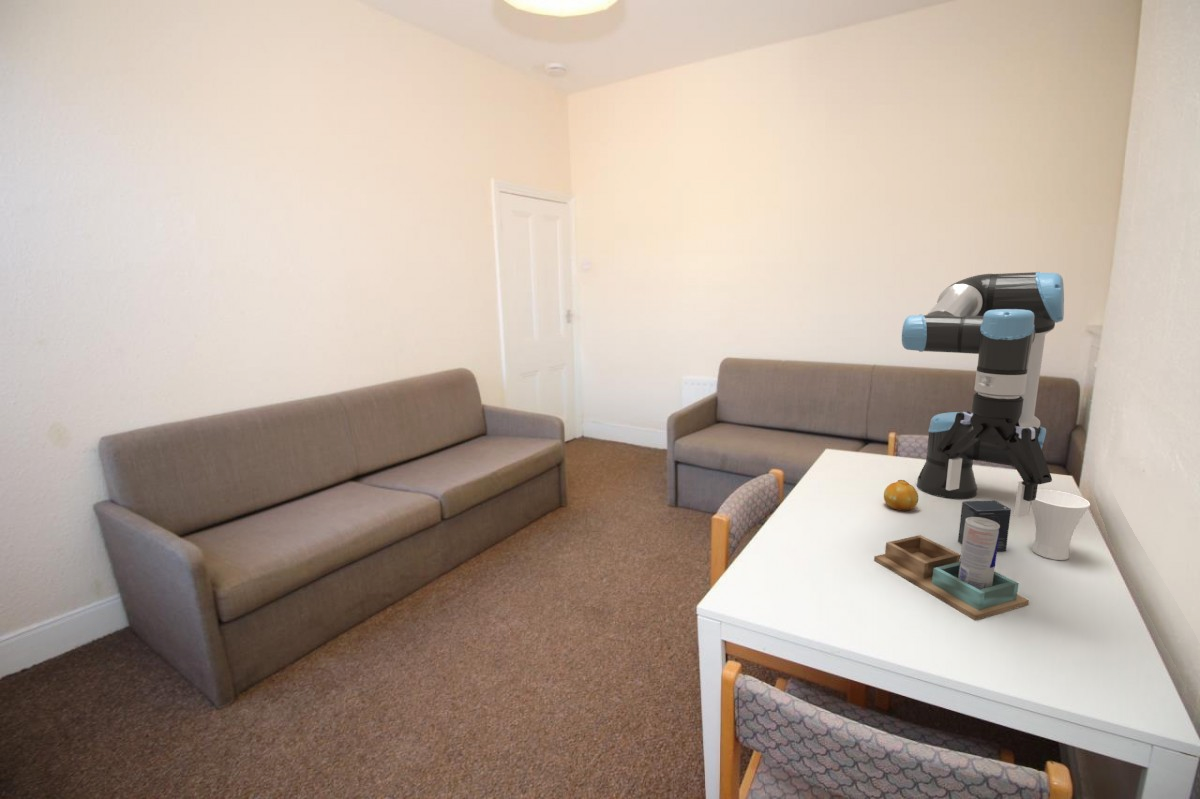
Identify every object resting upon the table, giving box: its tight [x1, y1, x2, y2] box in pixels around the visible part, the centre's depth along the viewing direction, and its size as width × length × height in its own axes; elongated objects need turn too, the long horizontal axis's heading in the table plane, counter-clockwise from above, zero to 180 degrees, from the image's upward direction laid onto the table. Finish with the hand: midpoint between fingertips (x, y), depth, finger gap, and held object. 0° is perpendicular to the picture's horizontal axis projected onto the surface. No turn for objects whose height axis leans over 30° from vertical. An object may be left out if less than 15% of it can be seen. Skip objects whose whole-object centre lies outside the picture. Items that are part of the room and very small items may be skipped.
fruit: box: [883, 479, 919, 512], centre depth 150 cm, size 8×8×8 cm
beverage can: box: [958, 517, 1000, 590], centre depth 107 cm, size 6×6×15 cm
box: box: [957, 499, 1012, 552], centre depth 127 cm, size 8×6×11 cm
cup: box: [1030, 489, 1091, 561], centre depth 123 cm, size 10×10×14 cm
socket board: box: [873, 534, 1030, 621], centre depth 114 cm, size 24×14×4 cm, turn 19°
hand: (984, 501), depth 105 cm, fingers open, 13 cm apart
